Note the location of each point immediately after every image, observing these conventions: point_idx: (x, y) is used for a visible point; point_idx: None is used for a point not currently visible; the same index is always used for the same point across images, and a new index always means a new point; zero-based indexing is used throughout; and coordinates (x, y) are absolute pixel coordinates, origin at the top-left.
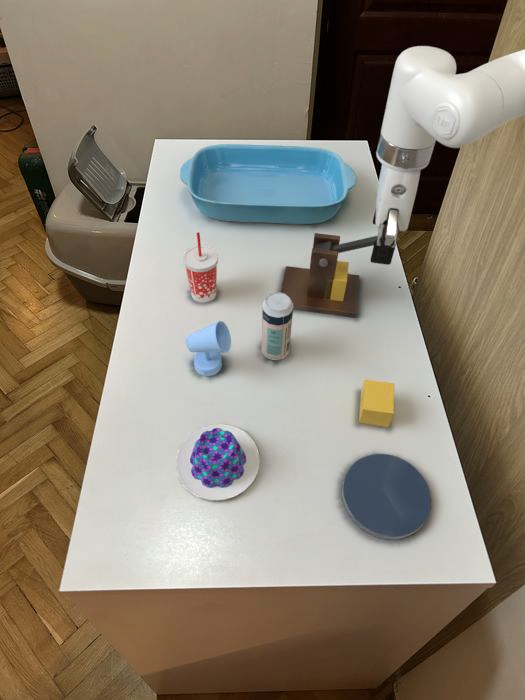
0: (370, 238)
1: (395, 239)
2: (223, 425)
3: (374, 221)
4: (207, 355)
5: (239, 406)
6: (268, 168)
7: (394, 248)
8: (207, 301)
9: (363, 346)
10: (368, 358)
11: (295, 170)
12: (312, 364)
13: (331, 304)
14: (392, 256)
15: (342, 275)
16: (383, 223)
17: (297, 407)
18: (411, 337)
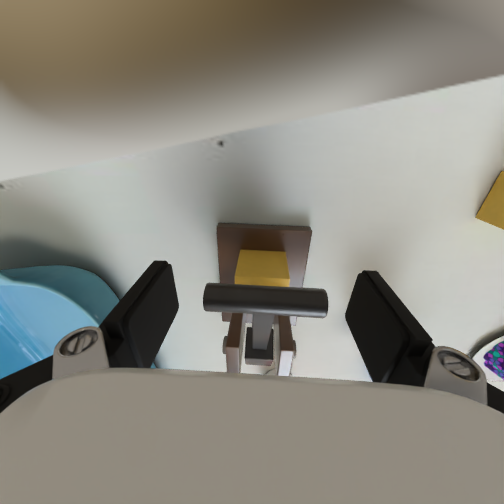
0: (259, 323)
1: (482, 398)
2: (475, 355)
3: (174, 314)
4: None
5: (446, 342)
6: (31, 351)
7: (420, 326)
8: (291, 374)
9: (374, 213)
10: (402, 205)
11: (7, 322)
12: (399, 280)
13: (293, 267)
14: (393, 292)
15: (274, 285)
16: (171, 288)
17: (468, 293)
18: (361, 119)
